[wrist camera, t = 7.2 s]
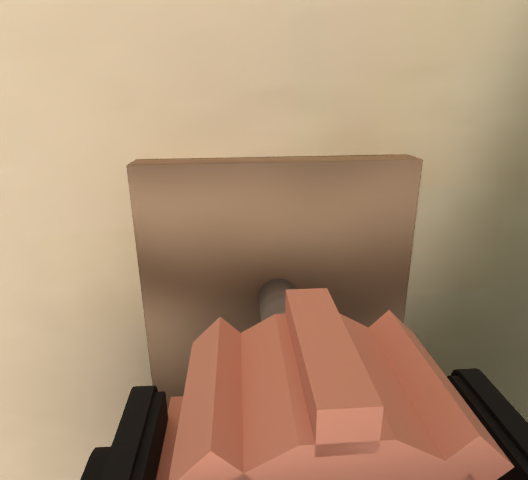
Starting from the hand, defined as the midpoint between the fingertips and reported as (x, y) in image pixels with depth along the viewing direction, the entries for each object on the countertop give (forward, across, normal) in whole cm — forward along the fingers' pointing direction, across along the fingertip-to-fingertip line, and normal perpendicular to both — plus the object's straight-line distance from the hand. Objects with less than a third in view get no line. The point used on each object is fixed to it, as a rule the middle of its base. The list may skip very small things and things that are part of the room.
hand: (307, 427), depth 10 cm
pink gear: (+1, 0, 0) cm, 1 cm away
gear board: (+9, 0, +6) cm, 10 cm away
